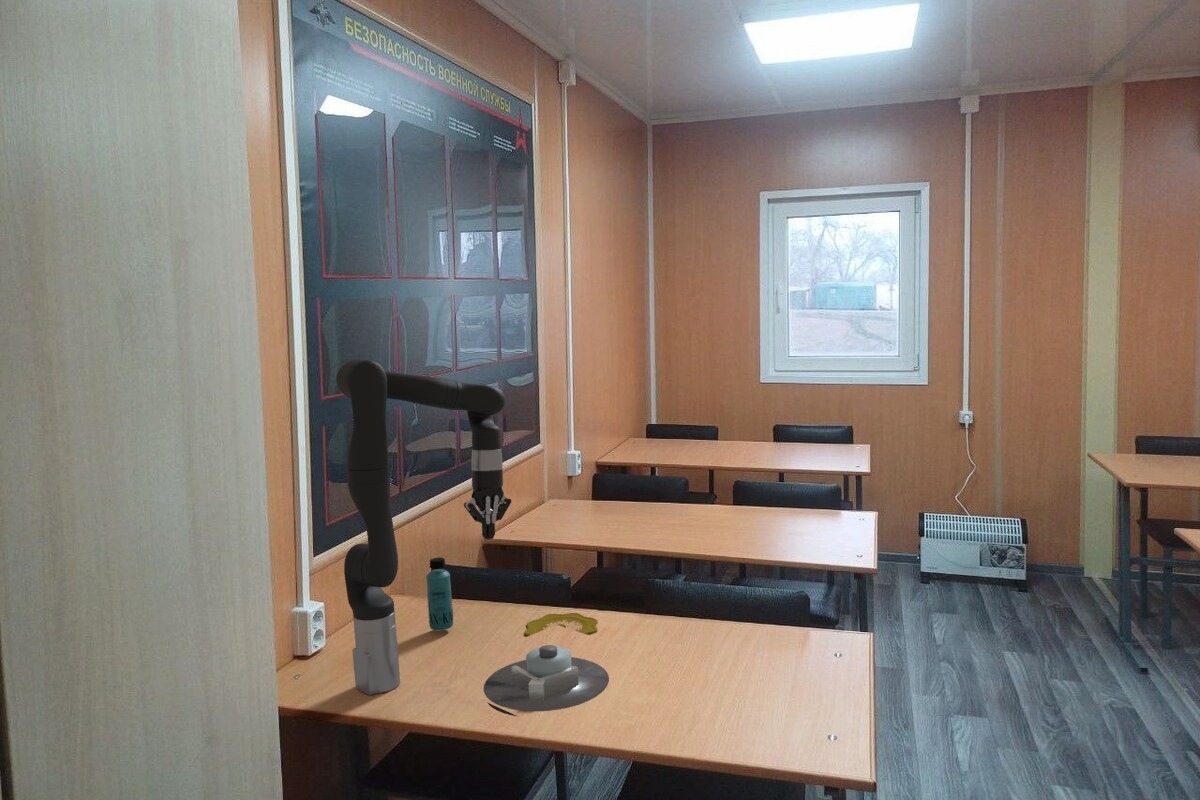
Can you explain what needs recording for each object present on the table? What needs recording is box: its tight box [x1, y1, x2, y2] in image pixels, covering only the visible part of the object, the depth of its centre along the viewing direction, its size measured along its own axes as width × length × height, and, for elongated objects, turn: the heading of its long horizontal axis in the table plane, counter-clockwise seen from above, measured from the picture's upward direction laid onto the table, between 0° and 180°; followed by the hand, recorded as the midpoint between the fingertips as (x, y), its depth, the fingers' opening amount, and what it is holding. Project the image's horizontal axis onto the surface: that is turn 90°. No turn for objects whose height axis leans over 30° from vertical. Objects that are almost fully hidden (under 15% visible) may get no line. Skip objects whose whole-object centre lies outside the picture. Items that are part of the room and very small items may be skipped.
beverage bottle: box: [425, 557, 455, 631], centre depth 235 cm, size 6×7×20 cm
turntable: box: [483, 656, 610, 717], centre depth 198 cm, size 28×28×6 cm
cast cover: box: [525, 644, 572, 678], centre depth 199 cm, size 10×10×8 cm
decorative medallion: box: [523, 612, 599, 638], centre depth 234 cm, size 20×20×2 cm
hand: (488, 538), depth 216 cm, fingers closed
